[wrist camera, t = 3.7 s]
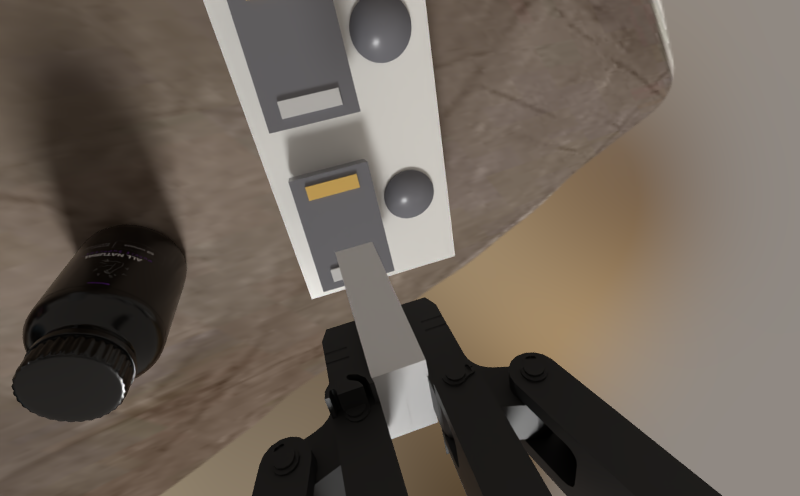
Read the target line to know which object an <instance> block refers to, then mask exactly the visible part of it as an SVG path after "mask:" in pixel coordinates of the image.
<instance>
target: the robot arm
mask: <svg viewBox="0 0 800 496" xmlns="http://www.w3.org/2000/svg"><path fill="white" fill-rule="evenodd" d="M335 254H336V257H337V261H338V264H339V268H340V271H341V275H342V278H343V282H344V285H345V289H346V292H347V296H348V299H349V303H350V306H351V309H352V313H353V316H354V320H355V321H352V322H349V323H346V324H343V325H340V326H337V327H333V328H330V329H327V330H326V332H325V335H324V338H323V341H322V344H323V350H324V355H325V361H326V365H327V366H326V367H327V372H328V378H329V385H328V387H327V389H326V391H325V401H326V404H327V406H328V409H329V411H330V416H329V418H328V420H327V421H326V422H325V424H324V425H323V426H322V427H320V428H319V429H318V430H317V431H316V432H314V433H313V434H312V435H310V436H308V437H307V438H306V439H304V440H303V439H301V438H300V437H288V438H285V439H282V440H279V441H278V442H277V443H275V444H274V445H272V446H271V447H270V448H269V449H268V451H267V452H266V453H265V454H264V456H263V458H262V460H261V463H260V465H259V469H258V473H257V477H256V481H255V486H254V490H253V494H252V496H408V493H407V490H406V487H405V484H404V480H403V477H402V473H401V470H400V467H399V463H398V460H397V457H396V453H395V450H394V447H393V443H392V440H391V439H393V438H396V437H398V436H401V435H404V434H407V433H409V432H412V431H415V430H418V429H420V428H423V427H425V426H428V425H431V424H434V423H437V422H438V421H437V418H438V420H439V422H440V425H441V427H442V432H443V437H444V443H445V448H446V453H447V454H449V453H450V455H451V458H452V460H453V462H454V465H455V468H456V470H457V472H458V475H459V477H460V479H461V482H462V485H463V487H464V489H465V492H466V494H467V496H552V495H551V493H550V491H549V490H548V488H547V486H546V484H545V483H544V481H543V479H542V477H541V476H540V474H539V472H538V471H537V469H536V467H535V465H534V464H533V462H532V460H531V459H530V457H529V455H530V456H531V457H532V458H533V460H534V461H535V462H536V463H537V464H538V465H539V466H540V467H541V468H542V469H543V470H544V471H545V473H546V474H547V475H548V476H549V477H550V478H551V479H552V480H553V481H554V482H555V483H556V484H557V486H558V487H559V488H560V489H561V490H562V491H563V492H564V493H565V494H566V495H567V496H722V495H721V494H719V493H718V492H717V491H716V490H714V489H713V488H712V487H711V486H709V485H708V484H707V483H706V482H704V481H703V480H702V479H701V478H699V477H698V476H697V475H696V474H694V473H693V472H692V471H691V470H689V469H688V468H687V467H686V466H684V465H683V464H682V463H681V462H679V461H678V460H677V459H676V458H674V457H673V456H672V455H671V454H669V453H668V452H667V451H666V450H664V449H663V448H662V447H661V446H659V445H658V444H657V443H656V442H654V441H653V440H652V439H651V438H649V437H648V436H647V435H646V434H644V433H643V432H642V431H641V430H640V429H638V428H637V427H636V426H635V425H633V424H632V423H631V422H629V421H628V420H627V419H626V418H624V417H623V416H622V415H621V414H620V413H618V412H617V411H616V410H615V409H613V408H612V407H611V406H610V405H608V404H607V403H606V402H605V401H603V400H602V399H601V398H600V397H598V396H597V395H596V394H595V393H593V392H592V391H591V390H590V389H588V388H587V387H586V386H584V385H583V384H582V383H581V382H580V381H578V380H577V379H576V378H574V377H573V376H572V375H571V374H570V373H568V372H567V371H566V370H565V369H563V368H562V367H561V366H560V365H558V364H557V363H556V362H555V361H553V360H552V359H550V358H549V357H547V356H545V355H543V354H539V353H524V354H521V355H519V356H516V357H515V358H514V359H513V360H512V361H511V363H510V366H509V367H495V368H492V367H483V366H479V365H477V364H474V363H473V362H471V361H470V360H468V359H467V357H466V356H465V355H464V353H463V352H462V350H461V348H460V346H459V344H458V343H457V341H456V339H455V338H454V336H453V334H452V332H451V331H450V329H449V327H448V325H447V324H446V322H445V320H444V318H443V317H442V315H441V313H440V311H439V309H438V308H437V306H436V304H434V303H433V302H431V301H430V300H428V299H426V298H421V299H418V300H415V301H412V302H409V303H406V304H403V305H401V304H400V302H399V300H398V298H397V295H396V293H395V291H394V289H393V287H392V284H391V282H390V280H389V278H388V276H387V273H386V271H385V269H384V267H383V265H382V262H381V260H380V258H379V256H378V254H377V251H376V249H375V247H374V245H373V243H372V242H369V243H366V244H362V245H359V246H355V247H352V248H349V249H345V250H342V251H338V252H335ZM528 454H529V455H528Z"/></svg>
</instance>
